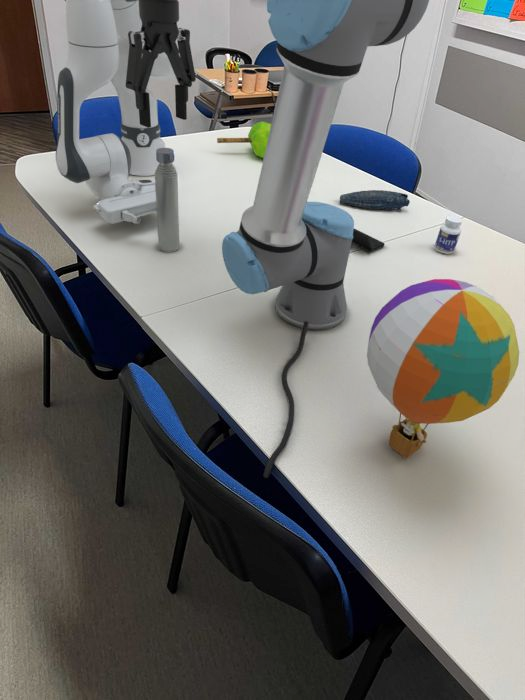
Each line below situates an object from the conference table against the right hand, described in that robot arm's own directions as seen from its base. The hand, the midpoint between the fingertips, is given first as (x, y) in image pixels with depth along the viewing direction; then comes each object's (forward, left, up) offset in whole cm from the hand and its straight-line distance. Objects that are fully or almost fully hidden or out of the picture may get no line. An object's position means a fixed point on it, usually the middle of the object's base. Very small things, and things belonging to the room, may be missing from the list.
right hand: (163, 121), depth 112 cm
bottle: (0, 0, -30) cm, 30 cm away
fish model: (+43, -52, -30) cm, 74 cm away
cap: (0, 0, -6) cm, 6 cm away
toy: (-55, -55, -30) cm, 83 cm away
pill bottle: (+19, -71, -30) cm, 79 cm away
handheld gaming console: (+16, -47, -30) cm, 58 cm away
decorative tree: (+77, -10, -30) cm, 83 cm away
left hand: (+3, +4, -24) cm, 24 cm away
